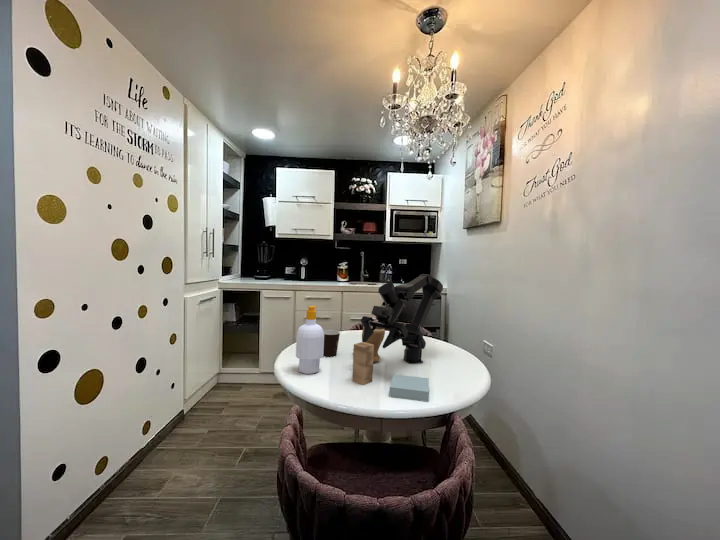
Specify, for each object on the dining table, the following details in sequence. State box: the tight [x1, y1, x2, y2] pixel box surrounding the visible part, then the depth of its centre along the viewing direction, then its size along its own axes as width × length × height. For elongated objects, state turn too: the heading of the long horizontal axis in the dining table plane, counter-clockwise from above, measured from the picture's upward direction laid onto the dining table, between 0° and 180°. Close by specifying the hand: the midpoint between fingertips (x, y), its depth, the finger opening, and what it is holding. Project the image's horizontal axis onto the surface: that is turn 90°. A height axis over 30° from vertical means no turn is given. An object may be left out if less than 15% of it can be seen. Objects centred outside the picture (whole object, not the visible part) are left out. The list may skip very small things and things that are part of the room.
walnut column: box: [351, 341, 374, 386], centre depth 114 cm, size 5×5×13 cm
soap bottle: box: [295, 305, 324, 375], centre depth 122 cm, size 10×10×24 cm
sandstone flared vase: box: [352, 326, 386, 363], centre depth 140 cm, size 15×12×15 cm
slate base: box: [389, 373, 430, 402], centre depth 107 cm, size 12×12×3 cm
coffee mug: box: [323, 329, 341, 358], centre depth 144 cm, size 12×9×10 cm
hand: (372, 345), depth 118 cm, fingers open, 9 cm apart
